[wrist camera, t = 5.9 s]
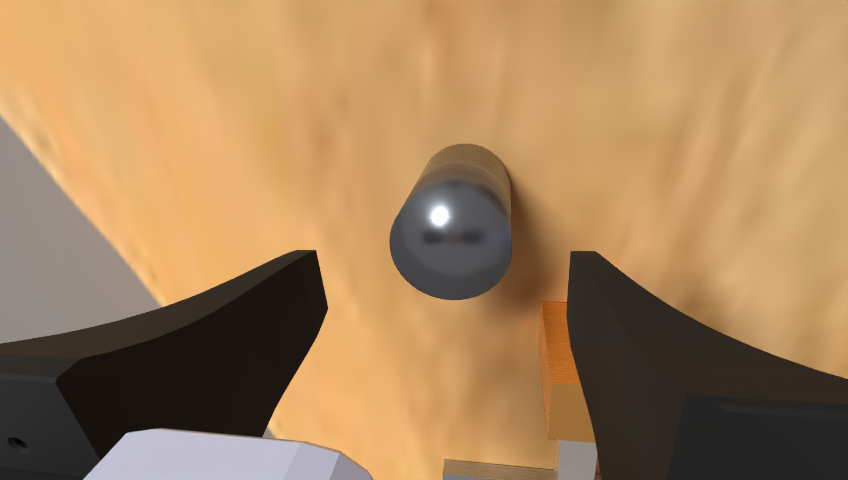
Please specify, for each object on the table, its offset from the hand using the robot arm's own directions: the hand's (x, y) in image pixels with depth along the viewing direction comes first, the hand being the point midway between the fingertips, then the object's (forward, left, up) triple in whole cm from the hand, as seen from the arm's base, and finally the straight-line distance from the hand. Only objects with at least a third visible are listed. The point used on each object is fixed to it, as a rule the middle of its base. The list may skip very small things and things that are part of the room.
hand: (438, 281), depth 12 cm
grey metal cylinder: (0, 0, -8) cm, 8 cm away
